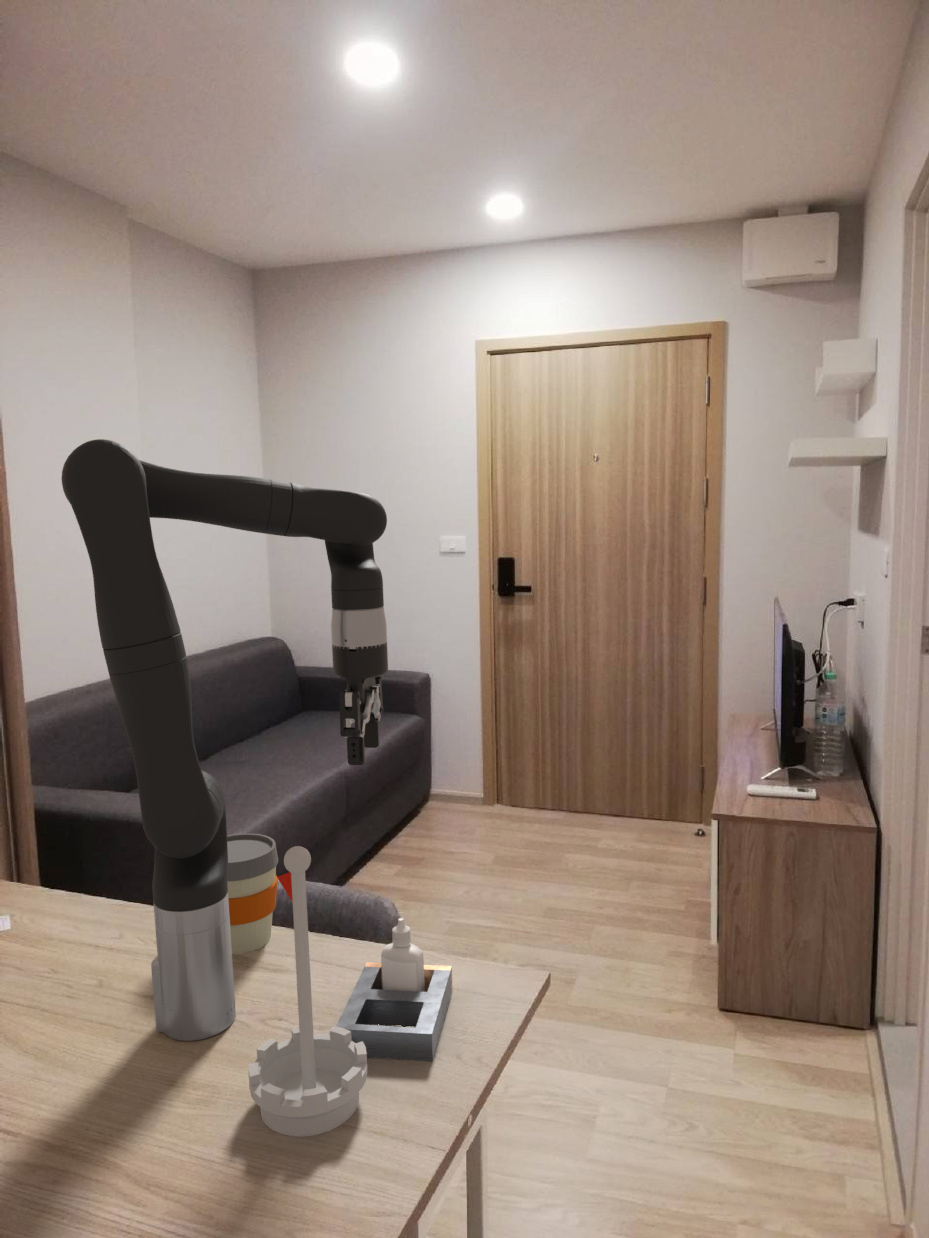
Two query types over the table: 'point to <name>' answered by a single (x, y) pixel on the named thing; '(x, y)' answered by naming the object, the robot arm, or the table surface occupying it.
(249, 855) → the reusable coffee cup
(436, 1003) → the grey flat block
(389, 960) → the eye dropper bottle
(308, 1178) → the table surface
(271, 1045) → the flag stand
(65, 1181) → the table surface
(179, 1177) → the table surface
